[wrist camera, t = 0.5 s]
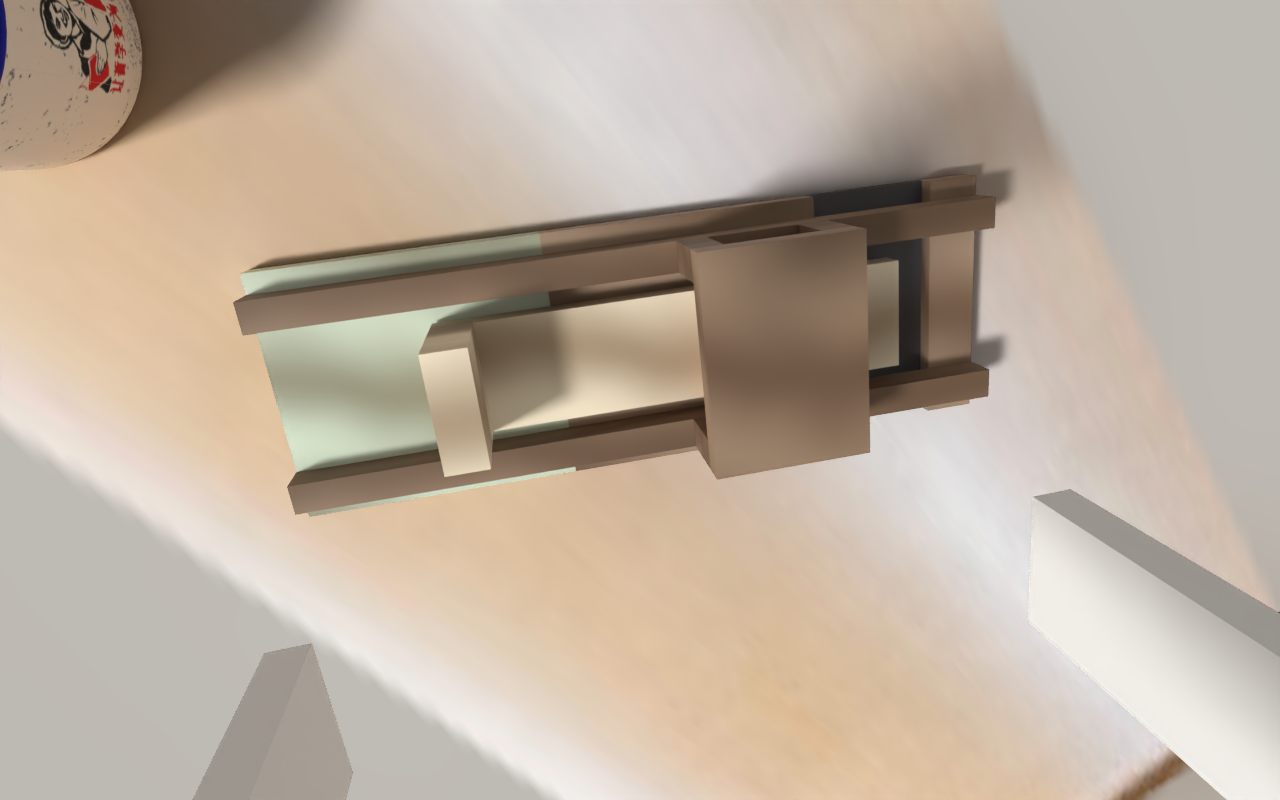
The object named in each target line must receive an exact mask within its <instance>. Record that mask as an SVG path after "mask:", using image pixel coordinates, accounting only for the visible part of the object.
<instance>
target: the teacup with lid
mask: <svg viewBox="0 0 1280 800" xmlns="http://www.w3.org/2000/svg"><path fill="white" fill-rule="evenodd" d="M141 75H142V47H141V40H140V34H139V30H138V25H137V22H136V19H135V15H134V12H133V9H132V7H131V5H130V2H129V0H0V171H15V170H38V169H47V168H54V167H58V166H62V165H66V164H69V163H72V162H75V161H77V160H80V159H82V158H84V157H86V156H88V155H90V154H92V153H93V152H95V151H97V150H98V149H100V148H101V147H102V146H103V145H105V144H106V143H107V142H108V141H110V140H111V139H112V137H113V136H114V135H115V134H116V133H117V132H118V131H119V130H120V128H121V127H122V126H123V124H124V123H125V121H126V120H127V118H128V116H129V114H130V113H131V111H132V108H133V106H134V104H135V101H136V98H137V95H138V91H139V87H140V82H141Z"/></svg>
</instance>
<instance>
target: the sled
mask: <svg viewBox="0 0 1280 800" xmlns="http://www.w3.org/2000/svg"><path fill="white" fill-rule="evenodd" d="M867 290H868V352H869V370H872V369H878V368H884V367H890V366H896V365H899V261H898V260H895V259H891V258H888V257H886V258H879V259H872V260H867ZM418 357H419V362H420V366H421V371H422V375H423V380H424V385H425V389H426V394H427V398H428V403H429V408H430V412H431V417H432V421H433V426H434V431H435V435H436V440H437V444H438V449H439V454H440V458H441V463H442V467H443V472H444V477H448V476H454V475H460V474H466V473H472V472H478V471H483V470H489V469H491V462H492V444H493V431H499V430H505V429H511V428H517V427H523V426H529V425H535V424H542V423H548V422H554V421H560V420H566V419H572V418H578V417H584V416H590V415H597V414H603V413H609V412H615V411H621V410H627V409H633V408H639V407H645V406H652V405H658V404H664V403H670V402H676V401H682V400H688V399H694V398H701V397H704V392H703V381H702V370H701V359H700V349H699V338H698V327H697V316H696V305H695V294H694V285H693V286H687V287H680V288H673V289H666V290H659V291H652V292H645V293H638V294H632V295H625V296H618V297H611V298H604V299H597V300H590V301H584V302H577V303H570V304H563V305H556V306H549V307H542V308H536V309H529V310H522V311H515V312H508V313H501V314H494V315H487V316H481V317H474V318H467V319H460V320H453V321H446V322H439V323H433V324H431V327H430V329H429V331H428V333H427V336H426V338H425V340H424V343H423V345H422V347H421V349H420V352H419V354H418Z"/></svg>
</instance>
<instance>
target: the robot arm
mask: <svg viewBox="0 0 1280 800" xmlns="http://www.w3.org/2000/svg"><path fill="white" fill-rule="evenodd" d="M1028 622H1029V623H1030V624H1031V625H1032V626H1033V627H1035V628H1036V629H1037V630H1038V631H1039V632H1040V633H1041V634H1042V635H1043V636H1045V637H1046V638H1047V639H1048V640H1049V641H1050V642H1051V643H1052V644H1054V645H1055V646H1056V647H1057V648H1058V649H1059V650H1060V651H1061V652H1062V653H1064V654H1065V655H1066V656H1067V657H1068V658H1069V659H1070V660H1071V661H1072V662H1074V663H1075V664H1076V665H1077V666H1078V667H1079V668H1080V669H1081V670H1083V671H1084V672H1085V673H1086V674H1087V675H1088V676H1089V677H1090V678H1091V679H1093V680H1094V681H1095V682H1096V683H1097V684H1098V685H1099V686H1100V687H1102V688H1103V689H1104V690H1105V691H1106V692H1107V693H1108V694H1109V695H1110V696H1112V697H1113V698H1114V699H1115V700H1116V701H1117V702H1118V703H1119V704H1120V705H1122V706H1123V707H1124V708H1125V709H1126V710H1127V711H1128V712H1129V713H1131V714H1132V715H1133V716H1134V717H1135V718H1136V719H1137V720H1138V721H1139V722H1141V723H1142V724H1143V725H1144V726H1145V727H1146V728H1147V729H1148V730H1150V731H1151V732H1152V733H1153V734H1154V735H1155V736H1156V737H1157V738H1158V739H1160V740H1161V741H1162V742H1163V743H1164V744H1165V745H1166V746H1167V747H1168V748H1170V749H1171V750H1172V751H1173V752H1174V753H1175V754H1176V755H1177V756H1179V757H1180V758H1181V759H1182V760H1183V761H1184V762H1185V763H1186V764H1187V765H1189V766H1190V767H1191V768H1192V769H1193V770H1194V771H1195V772H1196V773H1198V774H1199V775H1200V776H1201V777H1202V778H1203V779H1204V780H1205V781H1206V782H1208V783H1209V784H1210V785H1211V786H1212V787H1213V788H1214V789H1215V790H1216V791H1218V792H1219V793H1220V794H1221V795H1222V796H1223V797H1224V798H1225V799H1227V800H1280V612H1277V611H1275V610H1273V609H1272V608H1270V607H1268V606H1267V605H1265V604H1263V603H1262V602H1260V601H1258V600H1257V599H1255V598H1253V597H1251V596H1250V595H1248V594H1246V593H1245V592H1243V591H1241V590H1240V589H1238V588H1236V587H1235V586H1233V585H1231V584H1230V583H1228V582H1226V581H1224V580H1223V579H1221V578H1219V577H1218V576H1216V575H1214V574H1213V573H1211V572H1209V571H1208V570H1206V569H1204V568H1203V567H1201V566H1199V565H1197V564H1196V563H1194V562H1192V561H1191V560H1189V559H1187V558H1186V557H1184V556H1182V555H1181V554H1179V553H1177V552H1176V551H1174V550H1172V549H1170V548H1169V547H1167V546H1165V545H1164V544H1162V543H1160V542H1159V541H1157V540H1155V539H1154V538H1152V537H1150V536H1149V535H1147V534H1145V533H1143V532H1142V531H1140V530H1138V529H1137V528H1135V527H1133V526H1132V525H1130V524H1128V523H1127V522H1125V521H1123V520H1122V519H1120V518H1118V517H1116V516H1115V515H1113V514H1111V513H1110V512H1108V511H1106V510H1105V509H1103V508H1101V507H1100V506H1098V505H1096V504H1095V503H1093V502H1091V501H1089V500H1088V499H1086V498H1084V497H1083V496H1081V495H1079V494H1078V493H1076V492H1074V491H1073V490H1071V489H1069V490H1065V491H1060V492H1055V493H1050V494H1045V495H1040V496H1035V497H1033V510H1032V534H1031V559H1030V583H1029V607H1028ZM352 773H353V771H352V768H351V765H350V762H349V758H348V756H347V752H346V749H345V746H344V743H343V740H342V736H341V733H340V730H339V727H338V724H337V721H336V718H335V714H334V711H333V708H332V705H331V702H330V699H329V696H328V693H327V689H326V686H325V683H324V680H323V677H322V674H321V671H320V667H319V664H318V661H317V658H316V655H315V652H314V649H313V645H312V644H307V645H302V646H297V647H292V648H287V649H282V650H277V651H272V652H268V653H264V655H263V657H262V659H261V661H260V663H259V666H258V667H257V670H256V672H255V674H254V676H253V678H252V680H251V682H250V684H249V686H248V688H247V690H246V692H245V694H244V696H243V698H242V700H241V702H240V704H239V706H238V708H237V710H236V712H235V714H234V716H233V719H232V720H231V722H230V725H229V727H228V729H227V731H226V733H225V735H224V737H223V739H222V741H221V743H220V745H219V747H218V749H217V751H216V753H215V755H214V757H213V759H212V761H211V763H210V765H209V767H208V769H207V771H206V773H205V776H204V777H203V780H202V781H201V784H200V786H199V788H198V790H197V792H196V794H195V796H194V798H193V800H346V797H347V793H348V789H349V786H350V781H351V778H352Z"/></svg>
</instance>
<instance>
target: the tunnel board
mask: <svg viewBox="0 0 1280 800" xmlns="http://www.w3.org/2000/svg"><path fill="white" fill-rule="evenodd" d="M975 193H976V175H965V174H961V175H954V176H946V177H939V178H931V179H924V180H916V181H909V182H902V183H894V184H887V185H879V186H872V187H864V188H857V189H849V190H842V191H834V192H827V193H819V194H812V195H804V196H797V197H789V198H782V199H774V200H767V201H760V202H752V203H745V204H737V205H730V206H722V207H715V208H707V209H700V210H692V211H685V212H677V213H670V214H662V215H655V216H647V217H640V218H633V219H625V220H618V221H610V222H603V223H595V224H588V225H580V226H573V227H565V228H558V229H550V230H543V231H535V232H528V233H520V234H513V235H506V236H498V237H491V238H483V239H476V240H468V241H461V242H453V243H446V244H438V245H431V246H423V247H416V248H408V249H401V250H393V251H386V252H378V253H371V254H364V255H356V256H349V257H341V258H334V259H326V260H319V261H311V262H304V263H296V264H289V265H281V266H274V267H266V268H259V269H251V270H247V271H245V272H243V273H241V274H240V276H241V280H242V283H243V287H244V290H245V294H246V296H244V297H242V298H240V299H239V300H237V301H235V302H233V304H234V307H235V310H236V314H237V317H238V321H239V324H240V327H241V331H242V334H243V335H249V334H256V333H257V336H258V339H259V343H260V346H261V350H262V353H263V357H264V360H265V363H266V367H267V370H268V374H269V377H270V381H271V384H272V388H273V391H274V395H275V398H276V402H277V405H278V409H279V412H280V416H281V419H282V423H283V426H284V430H285V433H286V437H287V440H288V444H289V447H290V451H291V454H292V458H293V461H294V465H295V468H296V472H297V473H296V474H295V476H294V477H293V479H292V480H291V482H290V483H289V485H288V486H287V488H288V491H289V495H290V498H291V501H292V505H293V508H294V512H295V515H296V514H302V513H309V517H311V516H317V515H322V514H328V513H334V512H340V511H346V510H352V509H357V508H363V507H369V506H375V505H381V504H387V503H392V502H398V501H404V500H410V499H416V498H421V497H427V496H433V495H439V494H445V493H451V492H456V491H462V490H468V489H474V488H480V487H486V486H491V485H497V484H503V483H509V482H515V481H520V480H526V479H532V478H538V477H544V476H550V475H555V474H561V473H567V472H573V471H579V470H584V469H590V468H596V467H602V466H608V465H614V464H619V463H625V462H631V461H637V460H643V459H649V458H654V457H660V456H666V455H672V454H678V453H683V452H689V451H695V450H699V452H700V453H701V455H702V456H703V458H704V459H705V461H706V463H707V464H708V466H709V467H710V469H711V470H712V472H713V474H714V475H715V477H716V478H717V479H723V478H728V477H734V476H740V475H745V474H751V473H757V472H762V471H768V470H774V469H779V468H785V467H791V466H796V465H802V464H807V463H813V462H819V461H824V460H830V459H836V458H841V457H847V456H853V455H858V454H864V453H870V416H875V415H881V414H887V413H893V412H898V411H904V410H910V409H916V408H922V407H923V408H925V409H926V410H934V409H940V408H946V407H951V406H957V405H963V404H969V399H974V398H980V397H986V396H988V387H989V369H986V368H984V367H982V366H980V365H978V364H975V363H973V362H971V329H972V295H973V261H974V231H975V230H982V229H989V228H995V202H996V197H990V196H980V195H975ZM886 257H888V258H891V259H895V260H898V261H899V365H896V366H890V367H884V368H878V369H872V370H869V352H868V290H867V260H872V259H879V258H886ZM693 285H694V294H695V305H696V316H697V327H698V338H699V349H700V359H701V370H702V381H703V392H704V397H701V398H694V399H688V400H682V401H676V402H670V403H664V404H658V405H652V406H645V407H639V408H633V409H627V410H621V411H615V412H609V413H603V414H597V415H590V416H584V417H578V418H572V419H566V420H560V421H554V422H548V423H542V424H535V425H529V426H523V427H517V428H511V429H505V430H499V431H493V444H492V462H491V469H489V470H483V471H478V472H472V473H466V474H460V475H454V476H448V477H444V472H443V467H442V463H441V458H440V454H439V449H438V444H437V440H436V435H435V431H434V426H433V421H432V417H431V412H430V408H429V403H428V398H427V394H426V389H425V385H424V380H423V375H422V371H421V366H420V362H419V357H418V354H419V352H420V349H421V347H422V345H423V343H424V340H425V338H426V336H427V333H428V331H429V329H430V327H431V324H433V323H439V322H446V321H453V320H460V319H467V318H474V317H481V316H487V315H494V314H501V313H508V312H515V311H522V310H529V309H536V308H542V307H549V306H556V305H563V304H570V303H577V302H584V301H590V300H597V299H604V298H611V297H618V296H625V295H632V294H638V293H645V292H652V291H659V290H666V289H673V288H680V287H687V286H693Z"/></svg>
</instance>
